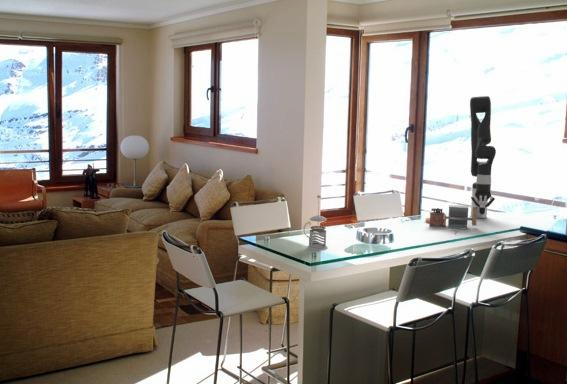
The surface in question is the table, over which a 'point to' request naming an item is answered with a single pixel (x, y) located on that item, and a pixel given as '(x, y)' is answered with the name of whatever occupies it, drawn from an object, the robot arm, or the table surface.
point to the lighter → (436, 218)
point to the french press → (312, 243)
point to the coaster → (427, 220)
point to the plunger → (474, 217)
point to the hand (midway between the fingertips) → (481, 214)
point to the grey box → (457, 212)
